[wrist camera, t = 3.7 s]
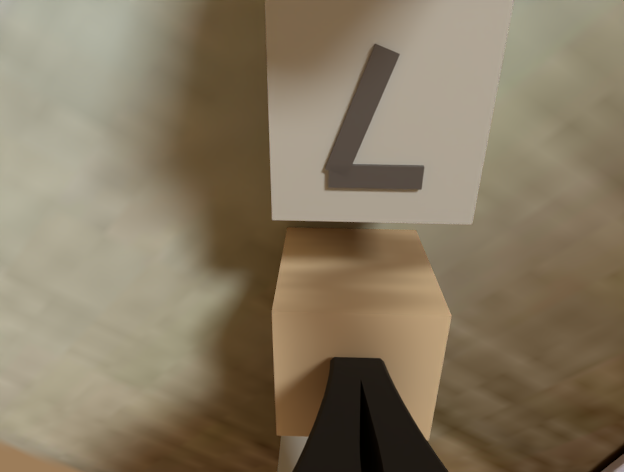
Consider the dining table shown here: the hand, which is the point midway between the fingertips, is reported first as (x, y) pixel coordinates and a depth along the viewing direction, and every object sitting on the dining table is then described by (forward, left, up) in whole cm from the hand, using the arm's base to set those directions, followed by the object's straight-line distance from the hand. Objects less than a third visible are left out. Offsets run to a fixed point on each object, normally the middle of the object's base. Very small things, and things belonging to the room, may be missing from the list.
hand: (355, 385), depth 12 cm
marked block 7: (+3, -6, -5) cm, 9 cm away
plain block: (0, 0, -5) cm, 5 cm away
